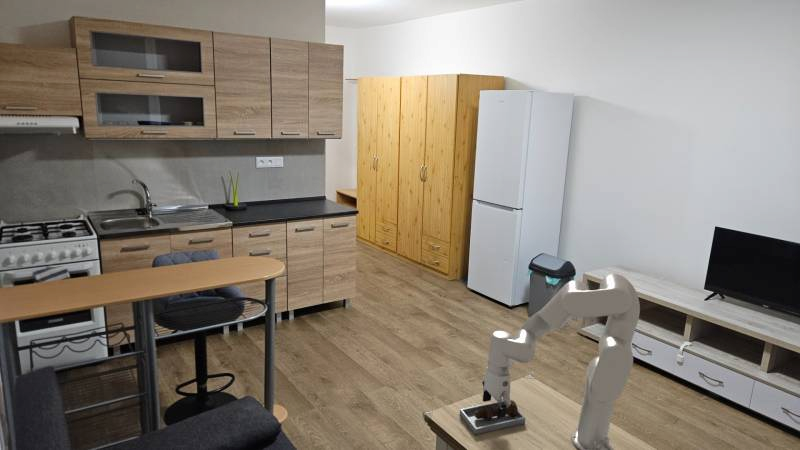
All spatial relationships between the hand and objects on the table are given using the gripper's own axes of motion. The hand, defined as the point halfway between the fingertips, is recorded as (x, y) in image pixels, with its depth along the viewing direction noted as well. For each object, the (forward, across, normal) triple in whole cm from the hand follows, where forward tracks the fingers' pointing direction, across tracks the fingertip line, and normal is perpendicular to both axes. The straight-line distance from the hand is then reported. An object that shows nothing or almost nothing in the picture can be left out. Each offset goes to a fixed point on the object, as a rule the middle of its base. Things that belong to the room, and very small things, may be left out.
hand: (493, 408), depth 185 cm
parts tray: (+4, 0, 0) cm, 5 cm away
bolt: (+4, 0, -1) cm, 4 cm away
